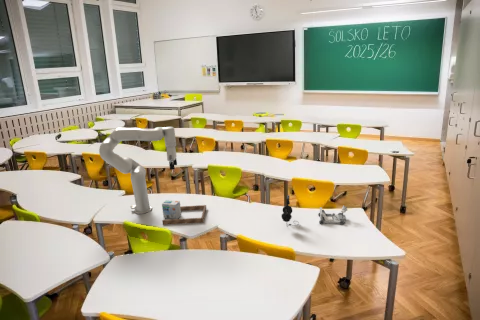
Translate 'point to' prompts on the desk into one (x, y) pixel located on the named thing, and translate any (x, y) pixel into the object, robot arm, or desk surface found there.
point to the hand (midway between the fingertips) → (173, 167)
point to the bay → (188, 220)
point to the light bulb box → (171, 209)
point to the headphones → (287, 212)
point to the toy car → (332, 217)
